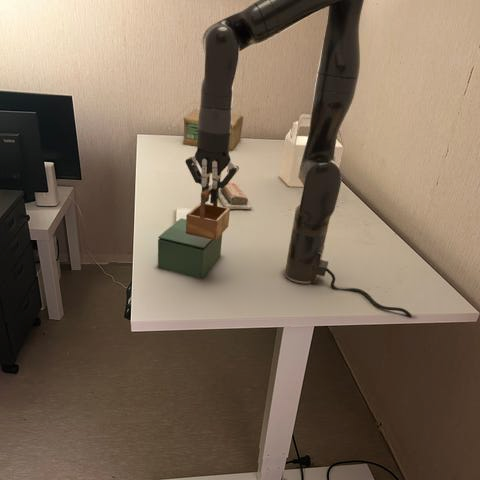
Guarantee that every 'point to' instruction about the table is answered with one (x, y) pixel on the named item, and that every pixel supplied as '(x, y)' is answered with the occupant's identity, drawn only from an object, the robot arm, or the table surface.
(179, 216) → the hard drive
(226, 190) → the packaged product
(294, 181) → the gable box
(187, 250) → the carton
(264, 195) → the table surface
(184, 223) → the flap
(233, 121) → the paper package
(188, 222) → the basket
